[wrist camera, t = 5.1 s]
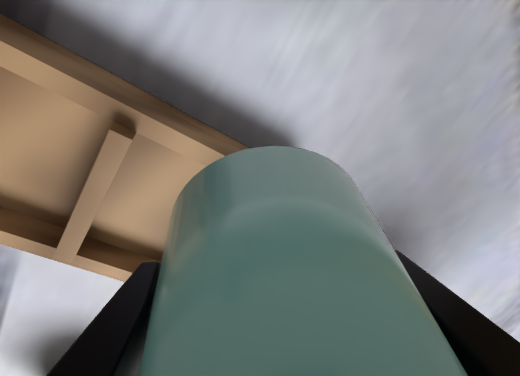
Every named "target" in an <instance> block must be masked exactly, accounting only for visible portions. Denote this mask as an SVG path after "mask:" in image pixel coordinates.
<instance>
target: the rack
mask: <svg viewBox="0 0 520 376" xmlns="http://www.w3.org/2000/svg"><path fill="white" fill-rule="evenodd" d="M245 149H250V148H249V147H247V146H245V145H243V144H241V143H239V142H237V141H236V140H234V139H232V138H230V137H228V136H226V135H225V134H223V133H221V132H219V131H217V130H215V129H213V128H212V127H210V126H208V125H206V124H204V123H202V122H200V121H199V120H197V119H195V118H193V117H191V116H189V115H188V114H186V113H184V112H182V111H180V110H178V109H176V108H175V107H173V106H171V105H169V104H167V103H165V102H163V101H162V100H160V99H158V98H156V97H154V96H152V95H151V94H149V93H147V92H145V91H143V90H141V89H139V88H138V87H136V86H134V85H132V84H130V83H128V82H126V81H125V80H123V79H121V78H119V77H117V76H115V75H114V74H112V73H110V72H108V71H106V70H104V69H102V68H101V67H99V66H97V65H95V64H93V63H91V62H89V61H88V60H86V59H84V58H82V57H80V56H78V55H76V54H75V53H73V52H71V51H69V50H67V49H65V48H64V47H62V46H60V45H58V44H56V43H54V42H52V41H51V40H49V39H47V38H45V37H43V36H41V35H39V34H38V33H36V32H34V31H32V30H30V29H28V28H27V27H25V26H23V25H21V24H19V23H17V22H15V21H14V20H12V19H10V18H8V17H6V16H4V15H2V14H1V13H0V244H3V245H6V246H9V247H12V248H16V249H19V250H22V251H26V252H29V253H32V254H35V255H39V256H42V257H45V258H48V259H52V260H55V261H58V262H61V263H65V264H68V265H71V266H74V267H78V268H81V269H84V270H87V271H91V272H94V273H97V274H101V275H104V276H107V277H110V278H114V279H117V280H120V281H123V282H126V280H127V279H128V278H129V277H130V276H131V274H132V273H133V272H134V271H135V270H136V269H137V267H138V266H139V265H140V264H141V263H142V262H144V261H159V262H160V263H161V261H162V256H163V251H164V246H165V241H166V236H167V231H168V226H169V222H170V217H171V213H172V209H173V206H174V204H175V201H176V199H177V197H178V195H179V194H180V192H181V191H182V189H183V188H184V187H185V185H186V184H187V183H188V182H189V181H190V180H191V179H192V178H193V177H194V176H195V175H196V174H197V173H198V172H200V171H201V170H202V169H203V168H205V167H206V166H208V165H210V164H211V163H213V162H215V161H216V160H218V159H220V158H223V157H225V156H227V155H229V154H232V153H235V152H239V151H242V150H245Z"/></svg>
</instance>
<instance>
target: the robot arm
mask: <svg viewBox="0 0 520 376" xmlns="http://www.w3.org/2000/svg"><path fill="white" fill-rule="evenodd" d="M394 251H395V252H396V254H397V256H398V257H399V259H400V261H401V262H402V264H403V266H404V268H405V269H406V271H407V273H408V274H409V276H410V278H411V280H412V281H413V283H414V285H415V286H416V288H417V290H418V292H419V293H420V295H421V297H422V298H423V300H424V302H425V303H426V305H427V307H428V309H429V310H430V312H431V314H432V315H433V317H434V319H435V321H436V322H437V324H438V326H439V327H440V329H441V331H442V333H443V334H444V336H445V338H446V339H447V341H448V343H449V345H450V346H451V348H452V350H453V351H454V353H455V355H456V356H457V358H458V360H459V362H460V363H461V365H462V367H463V368H464V370H465V372H466V374H467V375H468V376H520V342H518V341H517V340H516V339H514V338H513V337H512V336H510V335H509V334H508V333H506V332H505V331H504V330H503V329H501V328H500V327H499V326H497V325H496V324H495V323H493V322H492V321H491V320H489V319H488V318H487V317H485V316H484V315H483V314H481V313H480V312H479V311H477V310H476V309H475V308H473V307H472V306H471V305H469V304H468V303H467V302H465V301H464V300H463V299H462V298H460V297H459V296H458V295H456V294H455V293H454V292H452V291H451V290H450V289H448V288H447V287H446V286H444V285H443V284H442V283H440V282H439V281H438V280H436V279H435V278H434V277H432V276H431V275H430V274H428V273H427V272H426V271H424V270H423V269H422V268H421V267H419V266H418V265H417V264H415V263H414V262H413V261H411V260H410V259H409V258H407V257H406V256H405V255H403V254H402V253H401V252H399V251H397V250H394ZM160 266H161V263H160V262H159V261H144V262H142V263H141V264H140V265H139V266H138V267H137V269H136V270H135V271H134V272H133V273H132V274H131V276H130V277H129V278H128V279H127V280H126V282H125V283H124V284H123V285H122V286H121V288H120V289H119V290H118V291H117V292H116V293H115V295H114V296H113V297H112V298H111V299H110V301H109V302H108V303H107V304H106V305H105V307H104V308H103V309H102V310H101V311H100V312H99V314H98V315H97V316H96V317H95V318H94V320H93V321H92V322H91V323H90V324H89V326H88V327H87V328H86V329H85V330H84V332H83V333H82V334H81V335H80V336H79V337H78V339H77V340H76V341H75V342H74V343H73V345H72V346H71V347H70V348H69V349H68V351H67V352H66V353H65V354H64V355H63V356H62V358H61V359H60V360H59V361H58V362H57V364H56V365H55V366H54V367H53V368H52V370H51V371H50V372H49V373H48V374H47V376H138V374H139V369H140V365H141V360H142V355H143V350H144V345H145V340H146V335H147V330H148V325H149V320H150V315H151V310H152V305H153V300H154V295H155V291H156V286H157V281H158V276H159V271H160Z"/></svg>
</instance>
